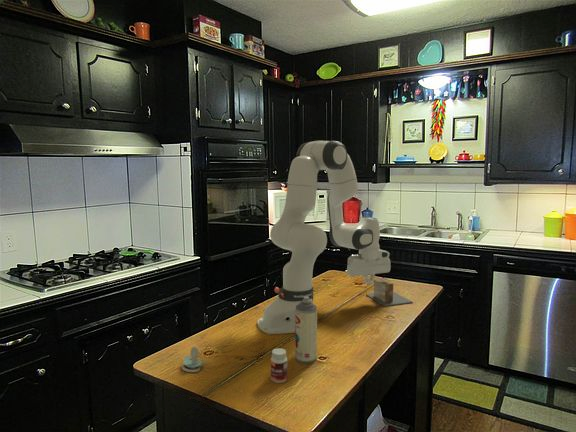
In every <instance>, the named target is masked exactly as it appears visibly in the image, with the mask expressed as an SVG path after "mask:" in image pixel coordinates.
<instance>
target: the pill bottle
mask: <svg viewBox="0 0 576 432" xmlns="http://www.w3.org/2000/svg"><path fill="white" fill-rule="evenodd" d="M270 380H271V381H272V382H274V383H276V384H282V383H285V382H286V381H287V380H288V357H287V350H286V349H284V348H282V347H281V348H280V347H277V348H274V349H272V350H271V358H270Z"/></svg>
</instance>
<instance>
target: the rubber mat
mask: <svg viewBox="0 0 576 432" xmlns="http://www.w3.org/2000/svg"><path fill="white" fill-rule="evenodd" d="M365 296H367V297H368V298H370V299H371V300H373V301H375V302H376V303H379V304H380V305H382V306H384V307H385V308H386V307H393V306H400V305H401V306H402V305H406V304H407V305H408V304H413V302H414V301H412V300H411V299H408V298H407V297H404V296H402V295H400V294H399V293H396V292H394V291H393V301H391V302H383V301H382V300H380V299H378V298H376V297H374V292H373V293H366V295H365Z"/></svg>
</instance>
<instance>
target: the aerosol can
mask: <svg viewBox="0 0 576 432" xmlns="http://www.w3.org/2000/svg"><path fill="white" fill-rule="evenodd" d="M294 340H295V341H294V346H295V347H294V359H295V361H296V362H298V363H301V364H305V365H307V364H313V363H314V362H315V363H316V361H317V359H318V354H317V353H318V351H317V350H318V306H317V305H316V304H315V303H313V301H312V302H311V301H310V300H309V297H307V296H305V297H304V300H302V301H301V302H300V303H299V304H298V305H296V309H295V333H294Z"/></svg>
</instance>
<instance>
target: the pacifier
mask: <svg viewBox="0 0 576 432" xmlns="http://www.w3.org/2000/svg"><path fill="white" fill-rule="evenodd" d="M189 353H190V355H189V356H185V357H184V358H183V360H182V362H183V364H182V365H181V369H182V370H183V371H184V372H187V373H198V372H200V371H201V366H202V365H205V364H206V362H207V361H206V360H201V361H199V355H200V349H199V348H198V347H197V346H193V347H191V349H190V351H189ZM186 367H187V368H186Z"/></svg>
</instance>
